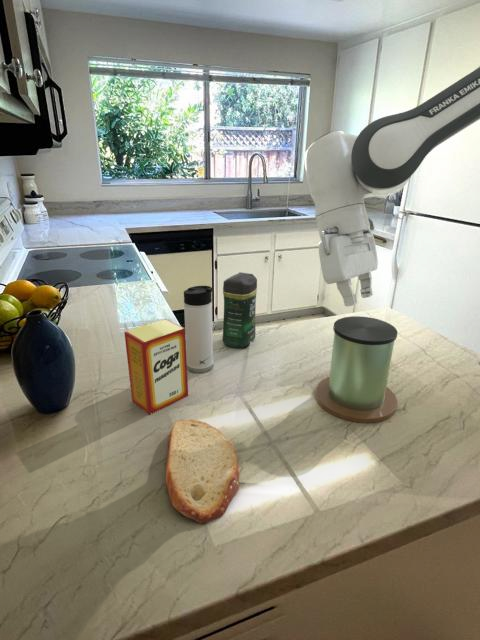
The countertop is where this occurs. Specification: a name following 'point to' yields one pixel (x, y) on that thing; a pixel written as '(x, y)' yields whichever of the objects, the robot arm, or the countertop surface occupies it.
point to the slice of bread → (200, 470)
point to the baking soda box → (157, 364)
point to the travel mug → (198, 328)
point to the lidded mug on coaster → (359, 371)
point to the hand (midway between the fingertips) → (359, 301)
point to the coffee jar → (239, 309)
